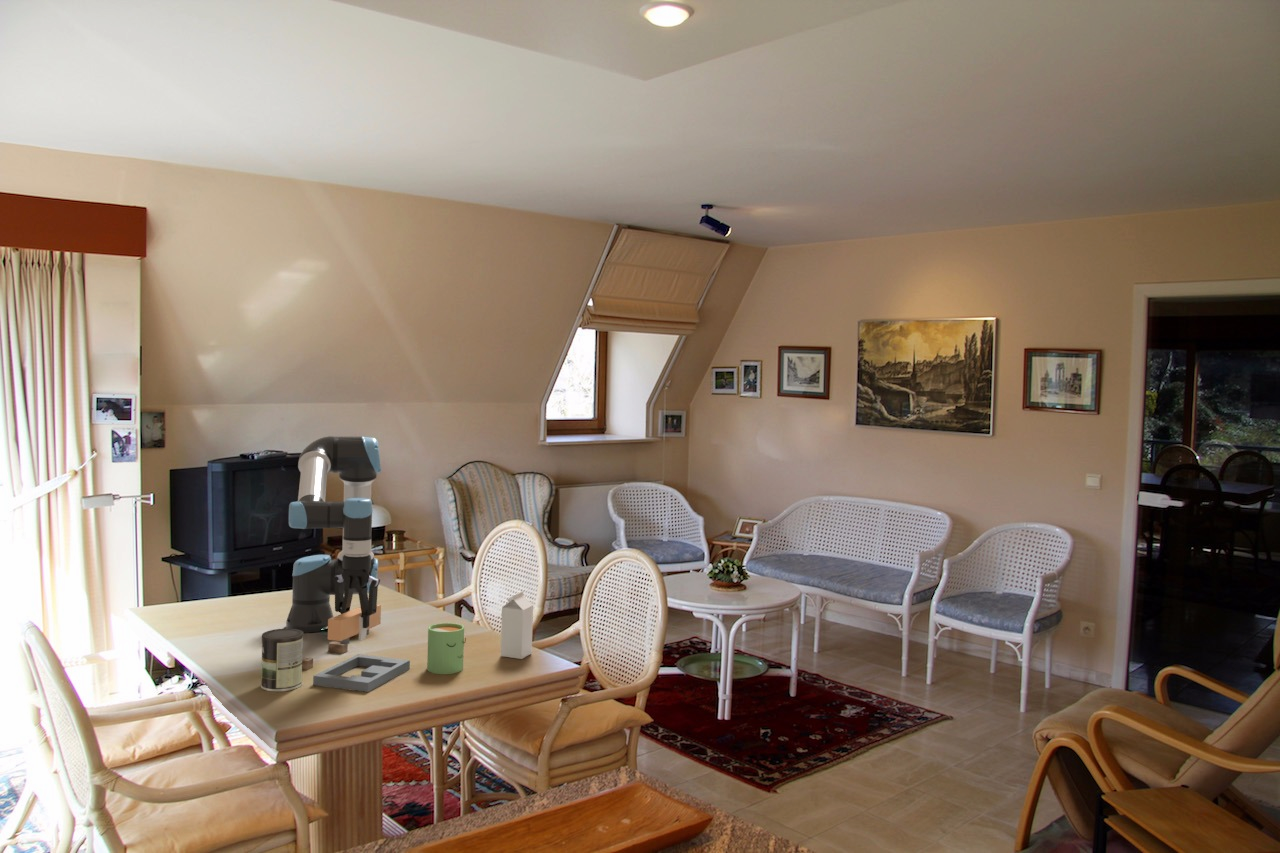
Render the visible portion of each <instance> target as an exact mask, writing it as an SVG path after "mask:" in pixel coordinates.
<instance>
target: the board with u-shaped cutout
mask: <svg viewBox="0 0 1280 853" xmlns="http://www.w3.org/2000/svg"><path fill="white" fill-rule="evenodd" d="M410 663H411V661H410V659H403V658H393V657H385V656H376V655H370V654H369V655H368V654H361V653H359V654H356V655H354V656H352V657H350V658H349V657H348V659H346V660H345V659H344V661H341V662H339V663H337V664H335V665H333V666H331V667H329V668H327V669H324V670H322V671H321V672H318V673H316V674H314V675H313V677H312V678H313V679H312V685H313V686H317V685H318V686H319V687H325V688H332V687H334V689H340V688H343V689H342V690H347V689H351V690H350V691H355V690H358V691H357V692H363V691H365V693H369V692H371V691H373V690H374V689H376V688H378V687H380V686H382V685H383V684H385V683H387V682H389V681H391V680H392V679H393V678H396V677H397V676H400V675H401V674H403V673H405V672H406V671H408V670H410V666H411V664H410ZM358 666H359V667H365V669H363V670H361V672H360V676H359V675H351V676H346V675H345V676H344V675H342V674H345V673H347V672H348V671H350V670H353V669H354V668H356V667H358ZM366 667H367V668H366Z"/></svg>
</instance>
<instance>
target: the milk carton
mask: <svg viewBox="0 0 1280 853" xmlns="http://www.w3.org/2000/svg"><path fill="white" fill-rule="evenodd" d="M524 592H525V591H524V590H521V591H520V592H518V593H515V594H513V595H511V596H510V597H509V598H508V599H507V603H506V604H504V605H503V606H502V607H501V631H500V635H501V636H500V657H504V658H512V659H517V660H518V659H519V660H520V659H521V660H523V659H524V658H526V657H528V656H529V655H531V654H532V653H533V627H534V625H533V624H534V622H533V620H534V604H533V603H532V602H531V601H530V600H529V599H528V598H527V597H526V596H525V594H524Z"/></svg>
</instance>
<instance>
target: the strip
mask: <svg viewBox="0 0 1280 853" xmlns="http://www.w3.org/2000/svg"><path fill="white" fill-rule="evenodd" d="M381 614H382V605H381V604H377V609H376V613H374V614H372V615H370V617H369V627H368V628H367V636H368V635H370V629H372V628H374V627H377V626H379V625H381V620H382V618H381V616H382V615H381ZM361 615H362V612H361V606H359V607H356V608H353V609H350V611H348V612H346V613H343V614H341V613H340V614H338V615H335V616H334V617H333V618H330V619H328V630H327V640H329V641H334V642H340V644H348V645H349V644H350V638H352V637H353V636H357V635H359V617H360V616H361Z"/></svg>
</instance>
